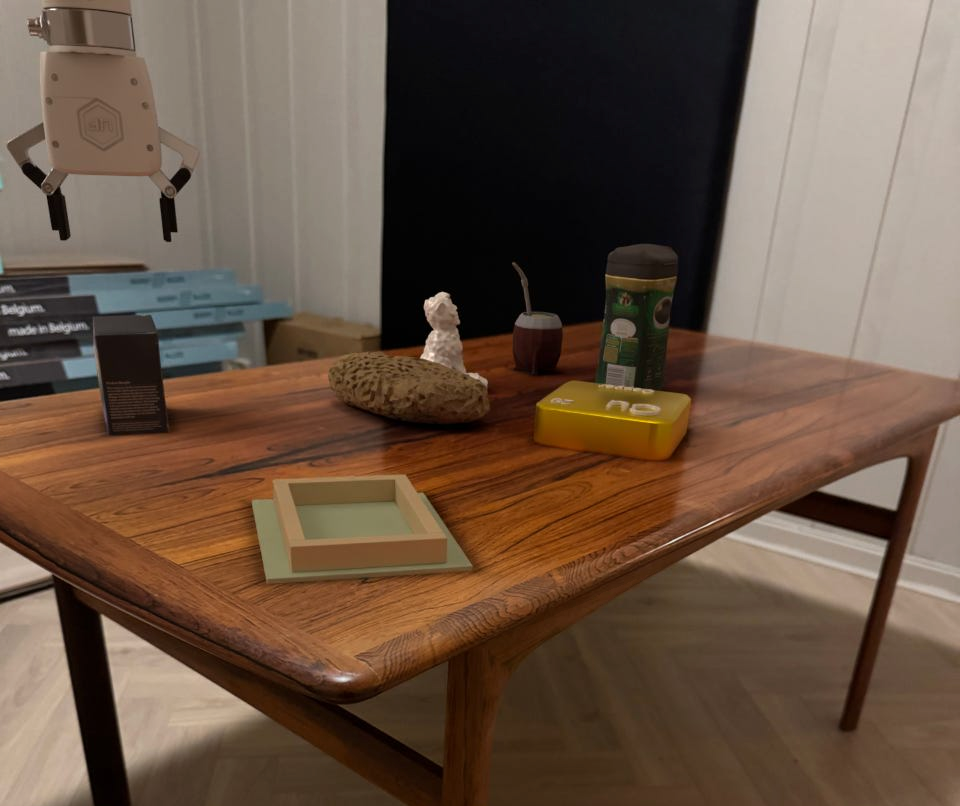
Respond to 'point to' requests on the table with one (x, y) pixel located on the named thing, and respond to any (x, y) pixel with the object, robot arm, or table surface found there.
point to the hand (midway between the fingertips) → (117, 239)
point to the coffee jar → (637, 316)
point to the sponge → (408, 388)
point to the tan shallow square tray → (352, 530)
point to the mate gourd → (536, 338)
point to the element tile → (612, 420)
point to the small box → (130, 374)
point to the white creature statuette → (445, 335)
